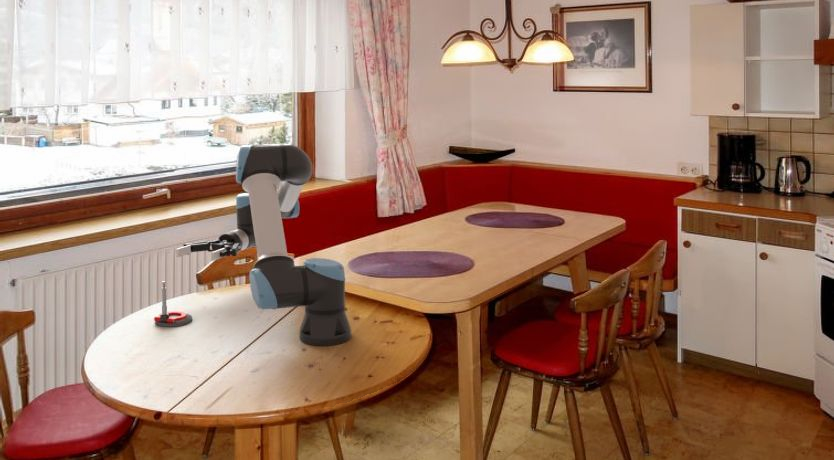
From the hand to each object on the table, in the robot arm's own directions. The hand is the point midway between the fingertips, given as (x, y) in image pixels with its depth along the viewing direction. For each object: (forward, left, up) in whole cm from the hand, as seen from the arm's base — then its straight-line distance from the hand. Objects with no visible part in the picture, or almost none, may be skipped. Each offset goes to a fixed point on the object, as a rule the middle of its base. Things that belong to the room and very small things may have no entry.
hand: (194, 254), depth 238 cm
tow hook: (-11, +5, -18) cm, 22 cm away
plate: (-11, +4, -19) cm, 22 cm away
